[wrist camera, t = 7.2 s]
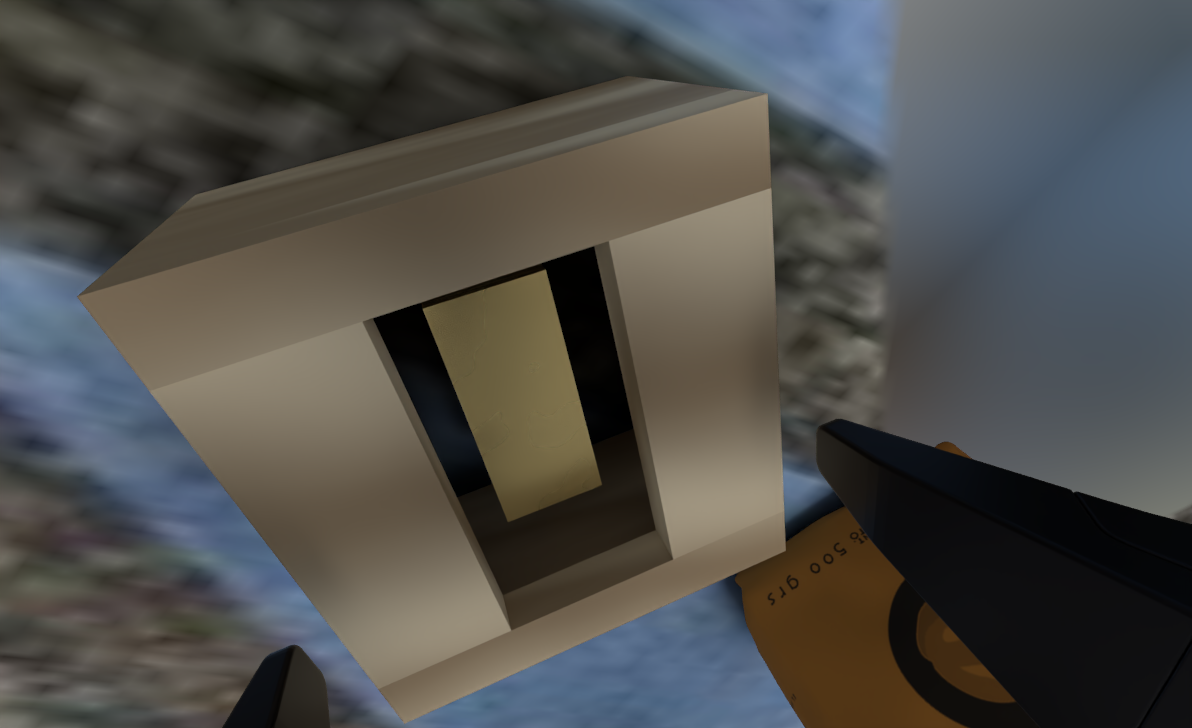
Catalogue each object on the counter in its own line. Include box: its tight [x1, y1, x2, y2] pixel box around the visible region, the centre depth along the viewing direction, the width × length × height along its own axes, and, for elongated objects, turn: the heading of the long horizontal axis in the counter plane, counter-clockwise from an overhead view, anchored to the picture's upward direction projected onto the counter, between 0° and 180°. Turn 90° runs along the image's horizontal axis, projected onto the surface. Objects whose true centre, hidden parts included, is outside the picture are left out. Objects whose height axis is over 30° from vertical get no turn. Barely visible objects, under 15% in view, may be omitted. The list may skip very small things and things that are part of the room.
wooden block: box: [421, 263, 602, 522], centre depth 15 cm, size 6×2×4 cm, turn 11°
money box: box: [77, 76, 786, 724], centre depth 14 cm, size 11×10×6 cm
